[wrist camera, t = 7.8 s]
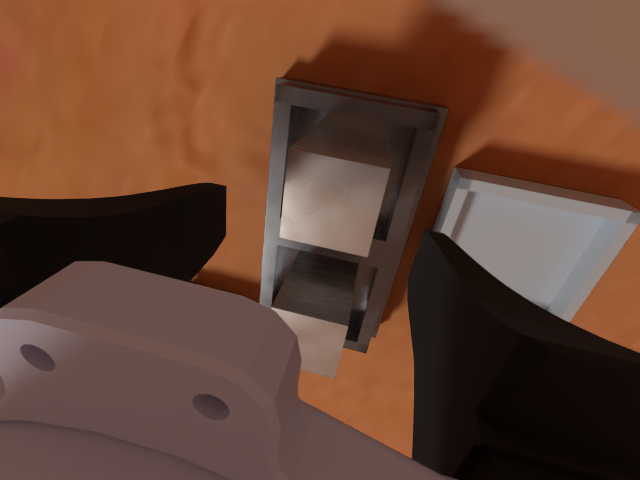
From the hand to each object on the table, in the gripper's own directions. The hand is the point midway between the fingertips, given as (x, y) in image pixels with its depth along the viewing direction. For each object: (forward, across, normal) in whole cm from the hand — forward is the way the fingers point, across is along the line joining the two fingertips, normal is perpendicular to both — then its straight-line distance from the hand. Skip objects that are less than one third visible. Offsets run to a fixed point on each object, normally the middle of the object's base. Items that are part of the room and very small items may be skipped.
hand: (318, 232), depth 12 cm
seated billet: (+8, 0, +8) cm, 11 cm away
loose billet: (+8, 0, 0) cm, 8 cm away
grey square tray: (+9, -10, +4) cm, 15 cm away
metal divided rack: (+9, 0, +4) cm, 10 cm away
